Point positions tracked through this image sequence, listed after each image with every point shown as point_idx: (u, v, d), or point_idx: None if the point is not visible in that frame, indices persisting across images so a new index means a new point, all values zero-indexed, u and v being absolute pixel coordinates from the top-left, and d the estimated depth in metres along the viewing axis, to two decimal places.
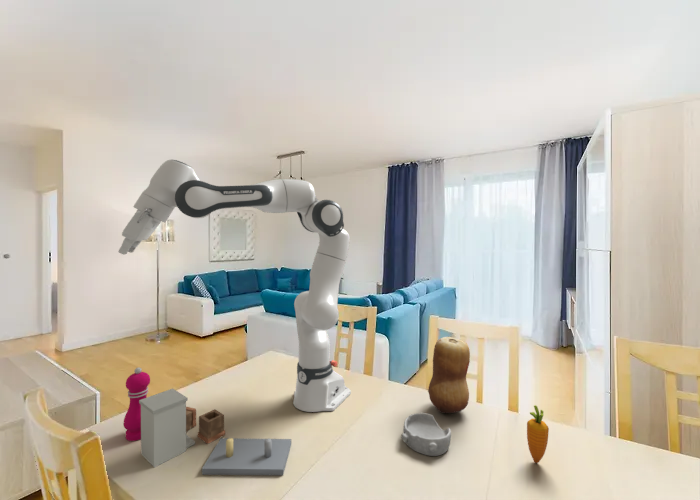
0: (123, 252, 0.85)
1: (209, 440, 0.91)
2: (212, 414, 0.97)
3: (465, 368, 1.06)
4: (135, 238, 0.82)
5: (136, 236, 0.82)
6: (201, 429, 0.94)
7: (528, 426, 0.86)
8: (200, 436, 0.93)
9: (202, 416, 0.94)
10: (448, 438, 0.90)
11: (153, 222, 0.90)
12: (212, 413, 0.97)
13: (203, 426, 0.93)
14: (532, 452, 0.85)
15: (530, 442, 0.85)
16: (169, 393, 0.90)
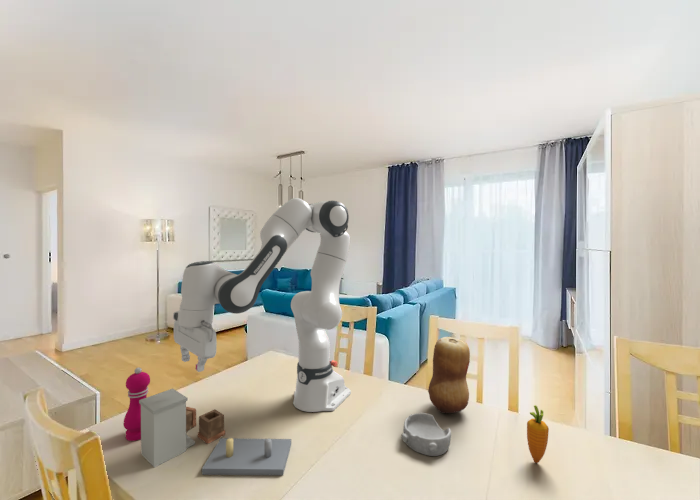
0: (202, 369, 0.89)
1: (209, 440, 0.91)
2: (212, 414, 0.97)
3: (465, 368, 1.06)
4: None
5: (215, 353, 0.87)
6: (201, 429, 0.94)
7: (528, 426, 0.86)
8: (200, 436, 0.93)
9: (202, 416, 0.94)
10: (448, 438, 0.90)
11: None
12: (212, 413, 0.97)
13: (203, 426, 0.93)
14: (532, 452, 0.85)
15: (530, 442, 0.85)
16: (169, 393, 0.90)
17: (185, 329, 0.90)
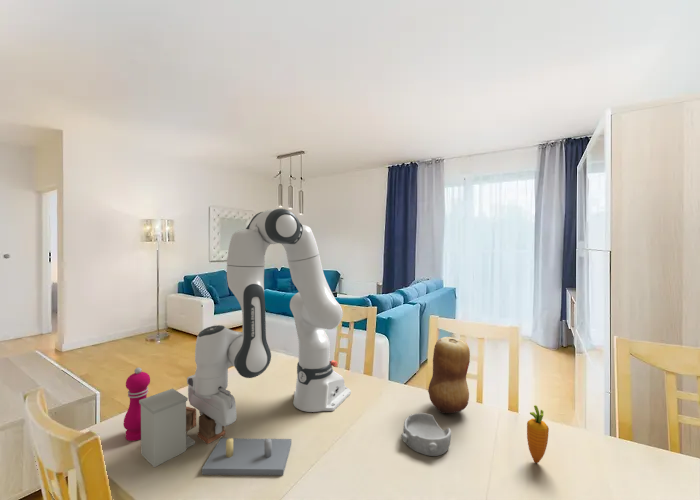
0: (219, 431, 0.93)
1: (209, 440, 0.91)
2: None
3: (465, 368, 1.06)
4: (235, 419, 0.90)
5: (235, 418, 0.90)
6: (201, 429, 0.94)
7: (528, 426, 0.86)
8: (200, 436, 0.93)
9: (202, 416, 0.94)
10: (448, 438, 0.90)
11: None
12: None
13: (203, 426, 0.93)
14: (532, 452, 0.85)
15: (530, 442, 0.85)
16: (169, 393, 0.90)
17: (203, 396, 0.92)
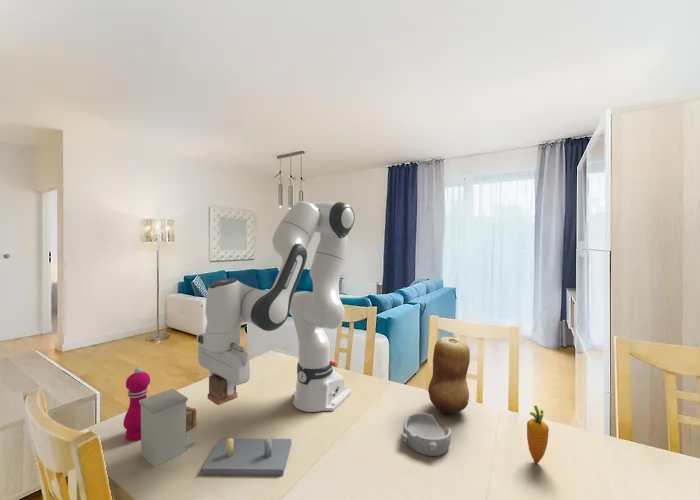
0: (231, 392, 0.85)
1: (220, 401, 0.84)
2: None
3: (465, 368, 1.06)
4: None
5: (249, 377, 0.82)
6: (211, 390, 0.86)
7: (528, 426, 0.86)
8: (210, 398, 0.86)
9: (212, 376, 0.86)
10: (448, 438, 0.90)
11: None
12: None
13: (213, 386, 0.85)
14: (532, 452, 0.85)
15: (530, 442, 0.85)
16: (169, 393, 0.90)
17: (213, 353, 0.84)
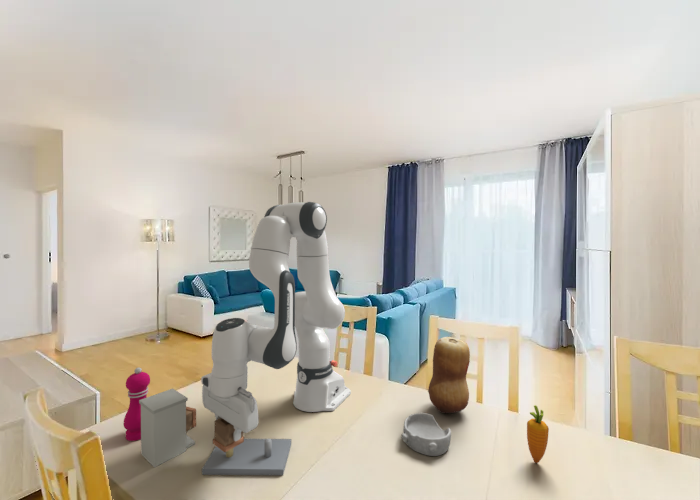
0: (238, 437, 0.82)
1: (226, 448, 0.81)
2: None
3: (465, 368, 1.06)
4: (257, 425, 0.79)
5: (257, 423, 0.79)
6: (217, 435, 0.83)
7: (528, 426, 0.86)
8: (216, 443, 0.83)
9: (218, 421, 0.83)
10: (448, 438, 0.90)
11: None
12: None
13: (219, 431, 0.82)
14: (532, 452, 0.85)
15: (530, 442, 0.85)
16: (169, 393, 0.90)
17: (220, 398, 0.81)
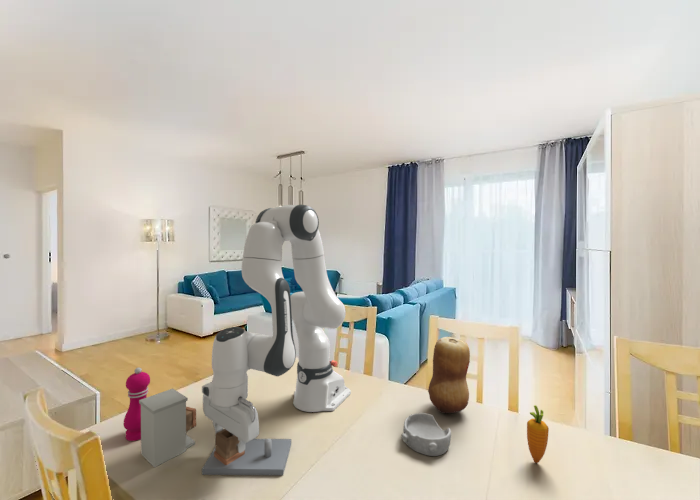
0: (243, 449, 0.81)
1: (227, 461, 0.81)
2: None
3: (465, 368, 1.06)
4: (258, 434, 0.80)
5: (258, 432, 0.79)
6: (218, 448, 0.83)
7: (528, 426, 0.86)
8: (217, 456, 0.83)
9: (219, 433, 0.84)
10: (448, 438, 0.90)
11: None
12: None
13: (220, 444, 0.82)
14: (532, 452, 0.85)
15: (530, 442, 0.85)
16: (169, 393, 0.90)
17: (220, 408, 0.81)
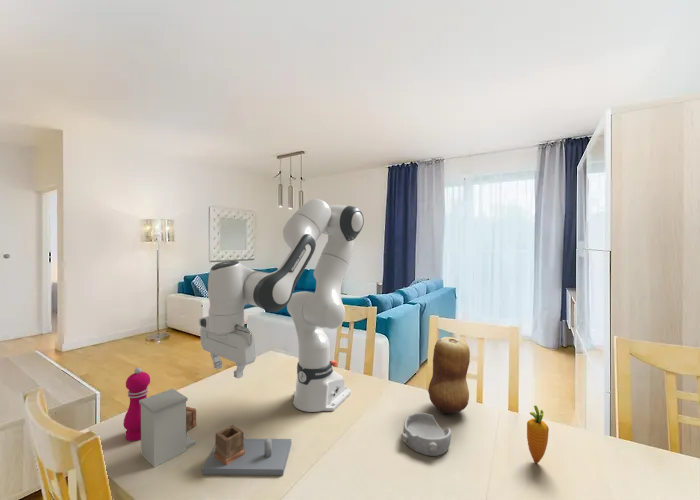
0: (241, 375, 0.84)
1: (227, 461, 0.81)
2: (230, 431, 0.86)
3: (465, 368, 1.06)
4: None
5: (255, 357, 0.82)
6: (218, 448, 0.83)
7: (528, 426, 0.86)
8: (217, 456, 0.83)
9: (219, 433, 0.84)
10: (448, 438, 0.90)
11: None
12: (230, 429, 0.86)
13: (220, 444, 0.82)
14: (532, 452, 0.85)
15: (530, 442, 0.85)
16: (169, 393, 0.90)
17: (218, 336, 0.83)
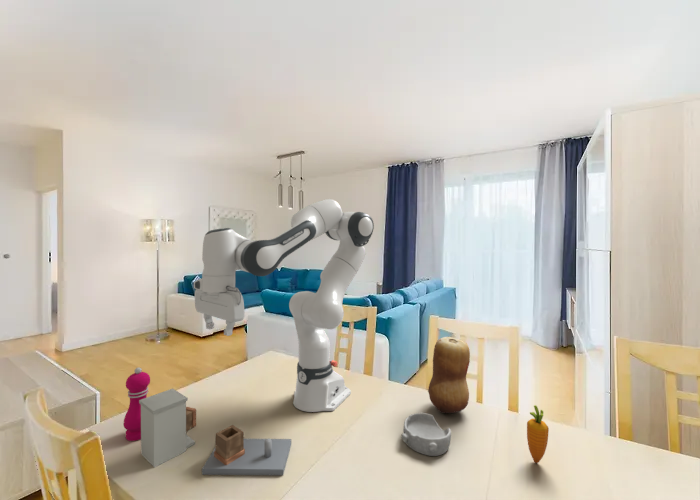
0: (230, 333, 0.90)
1: (227, 461, 0.81)
2: (230, 431, 0.86)
3: (465, 368, 1.06)
4: (243, 317, 0.88)
5: (243, 315, 0.88)
6: (218, 448, 0.83)
7: (528, 426, 0.86)
8: (217, 456, 0.83)
9: (219, 433, 0.84)
10: (448, 438, 0.90)
11: None
12: (230, 429, 0.86)
13: (220, 444, 0.82)
14: (532, 452, 0.85)
15: (530, 442, 0.85)
16: (169, 393, 0.90)
17: (210, 295, 0.90)
